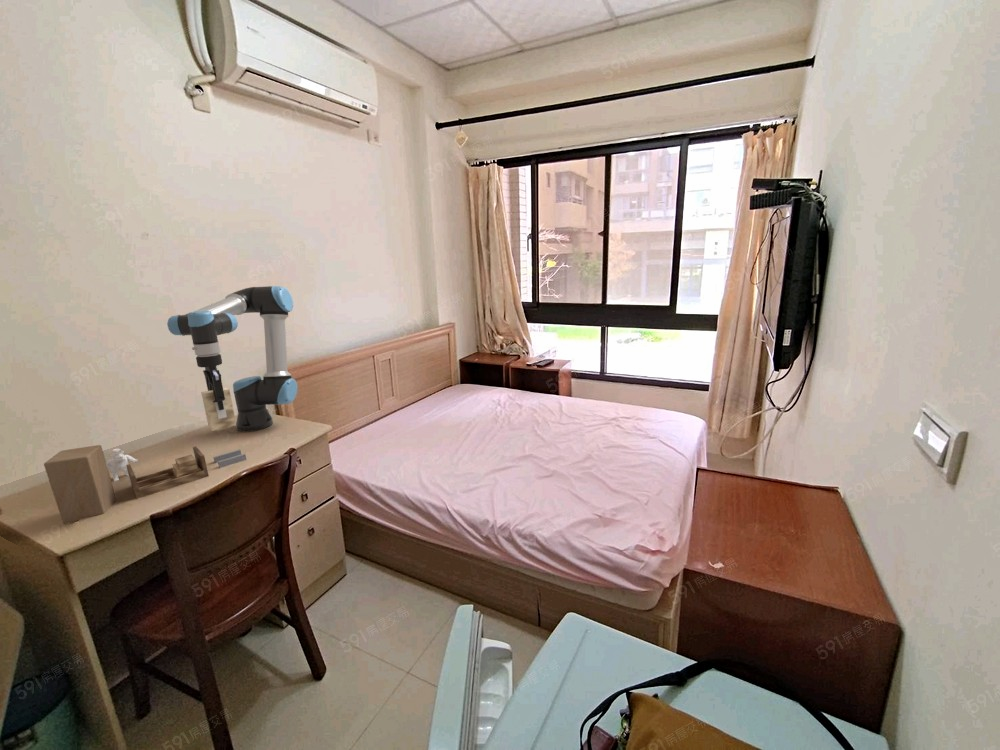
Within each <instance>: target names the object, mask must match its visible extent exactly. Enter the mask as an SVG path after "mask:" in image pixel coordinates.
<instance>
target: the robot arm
mask: <svg viewBox="0 0 1000 750" xmlns="http://www.w3.org/2000/svg"><path fill="white" fill-rule="evenodd" d="M293 308H294V301H293V296H292V295H291V293H290V291H289V290H288V289H287V288H286V287H284V286H280V285H278V286H277V285H270V286H250V287H246V288H243V289H239V290H236V291H234V292H232V293H229V294H227V295H226V296H225V298H223V299H222V300H218V301H216V302H214V303H211V304H209V305H206V306H203V307H200V308H199V309H197V310H194V311H190V312H189V313H186V314H182V315H181V314H177V315H176V314H175V315H171V316H170V317H169V318H168V320H167V324H166V325H167V328H168V331H169V332H170V333H171V334H172V335H174V336H182V337H183V336H184V337H185V336H191V340H192V345H193V347H192V348H191V349H192V351H194V354H195V356H196V357H195V359H196V364H197V367H198V368H204V370H203V371H202V372H203V375H204V379H205V383H206V387H207V391H211V390H213V393H214V397H215V401H213V402H215V406H216V411H217V416H218V419H221V418H225V417H227V415H226V410H225V405H224V400H225V397H224V391H223V388H224V387H223V381H222V374H221V373H220V370H219V369H218V368H217V367H218V366H221V365H222V364H223V360H222V354H221V349H220V348H221V347H220V344H219V343H220V342H219V339H218V336H220V335H224V334H225V335H226V334H230V333H233V332H235V330H237V328H238V324H239V322H238V319H237V317H236V316H240V315H244V314H251V313H252V314H254V313H256V314H257V313H259V317H260V318H262V319H263V327H264V328H263V329H264V344H265V345H264V347H265V349H264V350H265V365H266V372H265V373H264V375H263V376H262V377H261V376H260V375H254V376H253V375H252V376H248V377H245V378H241V379H238V380H236V381H234V382H233V384H232V388H233V394H234V400H235V404H236V408H237V409H236V411H237V417H236V425H235V427H236V430H237V431H239V432H254V431H260V430H263V429H266V428H268V427H270V426H272V425H273V424H272V423H274V419H273V417H272V415H271V414H270V412H269V411H268V409H267V405H268V406H269V405H273V406H274V405H279V406H282V405H288V404H291V403H292V402H294V401H295V399H296V397H297V395H298V383H297V380H296V379H294V378H293V377H292V374H291V373H290V372H289V371H288V354H287V353H288V352H287V351H288V350H287V337H286V333H287V331H286V320H287V318H288V317H289V313H290V312H292V311H293ZM271 424H272V425H271ZM265 427H266V428H265ZM262 428H263V429H262ZM259 429H260V430H259Z"/></svg>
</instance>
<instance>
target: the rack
mask: <svg viewBox="0 0 1000 750" xmlns="http://www.w3.org/2000/svg"><path fill="white" fill-rule="evenodd" d="M192 450H193V456H194V458H195V459H196V462H197V465H198V466H199V468H200V469H201V471H198V472H195V473H192V474H188V475H185V476H182V477H179V478H175V477H174V474H173V467H170V468H166V469H163V470H160V471H159V470H158V471H155V472H153V473H149V474H146V475H143V476H139V477H136V474H135V472H134V470H133V467H132V466H131V464H130V463H128V465H126V467H127V470H128V474H129V476H128V477H129V481H130V484H131V488H132V490H133V492H134V494H135V497H136V499H141V498H143V497H146V496H151V495H154V494H157V493H160V492H163V491H166V490H168V489H173V488H175V487H179V486H182V485H185V484H188V483H191V482H195V481H197V480H201V479H204V478H208V477H209V476H210V475H209V472H208V467H207V461H206V459H205V455H204V453H202V451H201V450H200V449H199V448H198V447H197V446H192Z"/></svg>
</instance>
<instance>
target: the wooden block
mask: <svg viewBox="0 0 1000 750" xmlns="http://www.w3.org/2000/svg"><path fill="white" fill-rule="evenodd" d="M106 461H107V460H106V457H105V454H104V449H103V448H102V445H101V444H97V445H90V446H84V447H77V448H71V449H65V450H64V449H63V450H61V451H58V452H57V453H56V454H55V455H53V456H52V457H51V458H49V459H48V460H47V461H45V462H44V463H43V466H44V469H45V472H46V475H47V478H48V479H47V480H48V481H49V484H50V488H51V490H52V491H51V492H52V493H53V497H54V499H55V503H56V505H57V509H58V512H59V515H60V517H61V521H62V523H63V525H67V524H71V523H77V522H80V521H79V520H81V519H85V518H89V517H95V516H100V515H104V514H106V512H107V511H108V510H109V509H110V508H111V507H112V505H113V504H114V502H116V500H117V496H116V492H115V489H114V485H113V482H112V478H111V475H110V470H108V467H107V464H106Z"/></svg>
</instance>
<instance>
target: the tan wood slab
mask: <svg viewBox="0 0 1000 750" xmlns="http://www.w3.org/2000/svg"><path fill="white" fill-rule="evenodd" d="M223 391H224V397H225V400H224V405H225V410H226V415H227V417H225V418H221V419H218V416H217V411H216V406H215V402H213V401H215V397H214V393H213V390H211V391H208V390H206V391H201V398H202V402H203V408H204V412H205V416H206V421H207V426H208V429H209V430H210V431H211V432H213V431H218V430H222V429H226V428H229V427H232V426H233V427H234V426H236V422H237V420H236V416H235V412H234V411H235V410H234V407H233V401H232V395H231V392H230V388H228V387H223Z"/></svg>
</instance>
